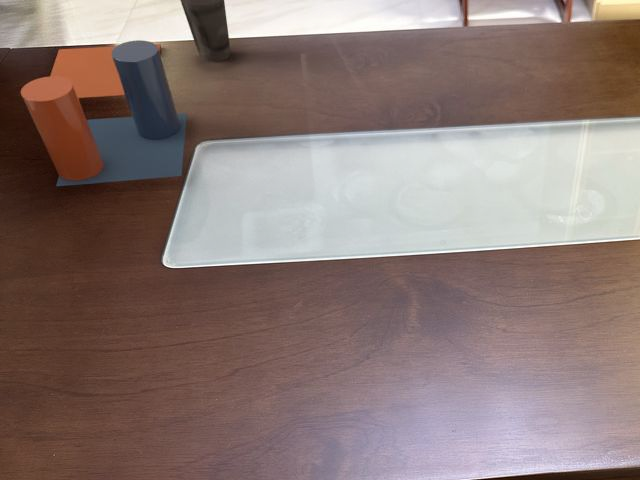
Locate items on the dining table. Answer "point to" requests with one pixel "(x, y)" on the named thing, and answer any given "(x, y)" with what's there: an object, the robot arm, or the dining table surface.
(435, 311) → the dining table surface
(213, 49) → the beverage cup
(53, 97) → the orange cylinder
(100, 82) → the terracotta mat
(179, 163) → the blue mat
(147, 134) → the navy blue cylinder
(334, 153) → the dining table surface
